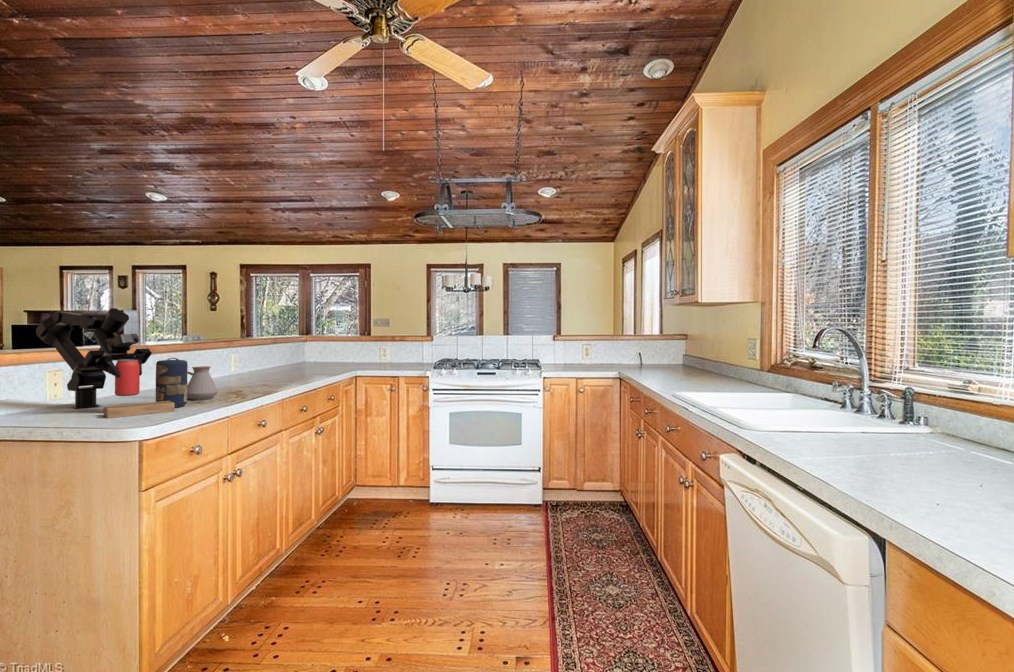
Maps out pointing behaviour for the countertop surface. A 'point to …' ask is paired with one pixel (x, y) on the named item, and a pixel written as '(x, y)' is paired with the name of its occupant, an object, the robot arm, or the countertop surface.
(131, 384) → the beer can
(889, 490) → the countertop surface
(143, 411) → the walnut beam
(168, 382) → the canister
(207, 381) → the coffee pot
